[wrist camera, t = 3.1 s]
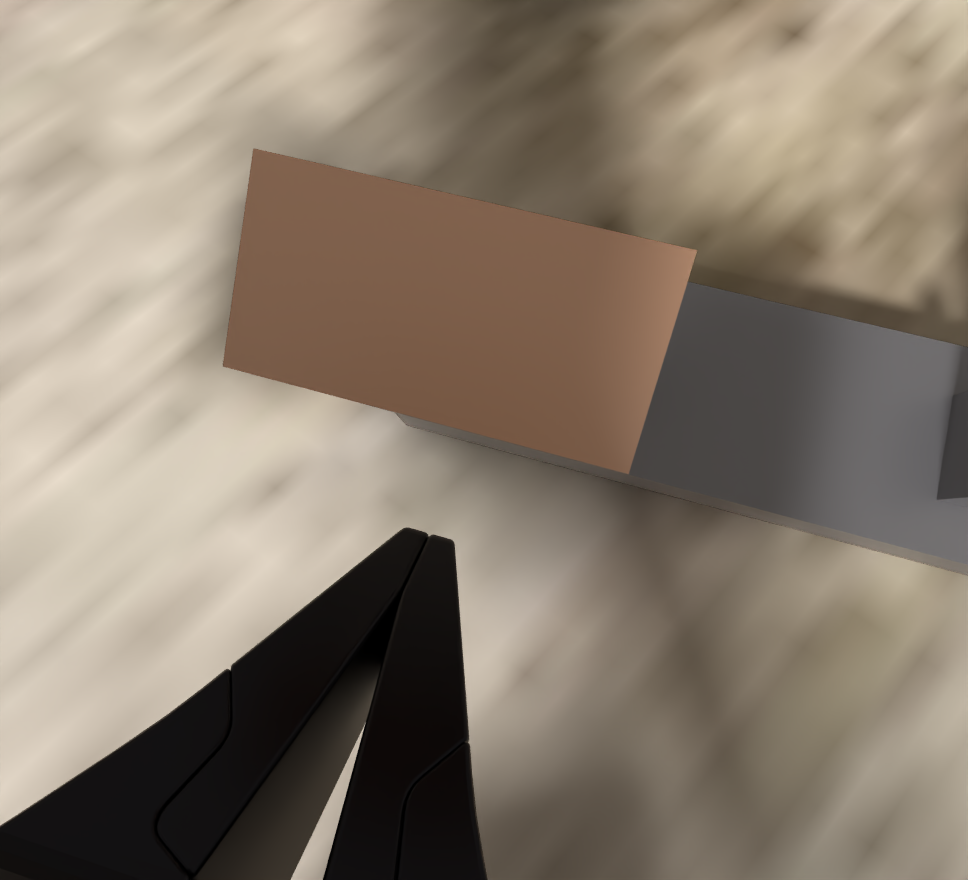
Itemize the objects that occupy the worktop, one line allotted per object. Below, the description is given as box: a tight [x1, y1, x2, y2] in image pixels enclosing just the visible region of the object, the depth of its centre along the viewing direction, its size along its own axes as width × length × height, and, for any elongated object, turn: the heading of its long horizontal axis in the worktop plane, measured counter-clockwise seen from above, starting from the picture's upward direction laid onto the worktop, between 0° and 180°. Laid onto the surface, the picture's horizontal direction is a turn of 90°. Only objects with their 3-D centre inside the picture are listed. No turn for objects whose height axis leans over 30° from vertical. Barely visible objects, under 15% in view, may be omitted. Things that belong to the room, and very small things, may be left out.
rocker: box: [223, 149, 697, 474], centre depth 11 cm, size 2×4×11 cm, turn 75°
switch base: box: [395, 282, 968, 575], centre depth 16 cm, size 6×21×4 cm, turn 74°
